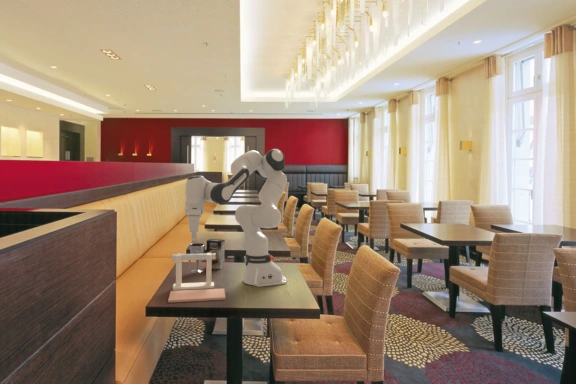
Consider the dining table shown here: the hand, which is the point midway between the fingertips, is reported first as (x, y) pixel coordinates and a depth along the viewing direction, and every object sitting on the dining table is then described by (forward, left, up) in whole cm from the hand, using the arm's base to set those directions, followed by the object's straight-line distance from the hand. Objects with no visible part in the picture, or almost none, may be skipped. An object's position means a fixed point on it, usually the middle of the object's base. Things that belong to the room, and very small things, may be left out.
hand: (194, 238), depth 173 cm
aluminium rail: (0, 0, -10) cm, 10 cm away
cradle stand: (0, 0, -24) cm, 24 cm away
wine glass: (-1, -27, -24) cm, 36 cm away
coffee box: (-11, -34, -24) cm, 43 cm away
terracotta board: (-2, +13, -24) cm, 27 cm away
